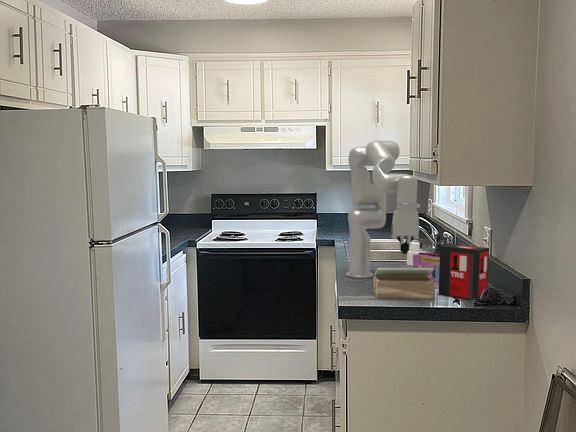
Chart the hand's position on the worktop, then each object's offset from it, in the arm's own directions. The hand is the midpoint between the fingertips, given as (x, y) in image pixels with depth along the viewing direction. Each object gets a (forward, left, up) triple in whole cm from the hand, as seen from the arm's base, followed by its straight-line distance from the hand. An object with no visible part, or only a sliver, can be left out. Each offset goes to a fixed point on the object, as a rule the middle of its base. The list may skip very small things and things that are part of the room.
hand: (404, 253), depth 239 cm
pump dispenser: (-56, +30, -18) cm, 66 cm away
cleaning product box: (-2, +24, -18) cm, 30 cm away
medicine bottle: (-73, +21, -18) cm, 78 cm away
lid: (-2, 0, -8) cm, 9 cm away
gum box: (-19, +20, -18) cm, 33 cm away
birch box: (-2, 0, -18) cm, 18 cm away
